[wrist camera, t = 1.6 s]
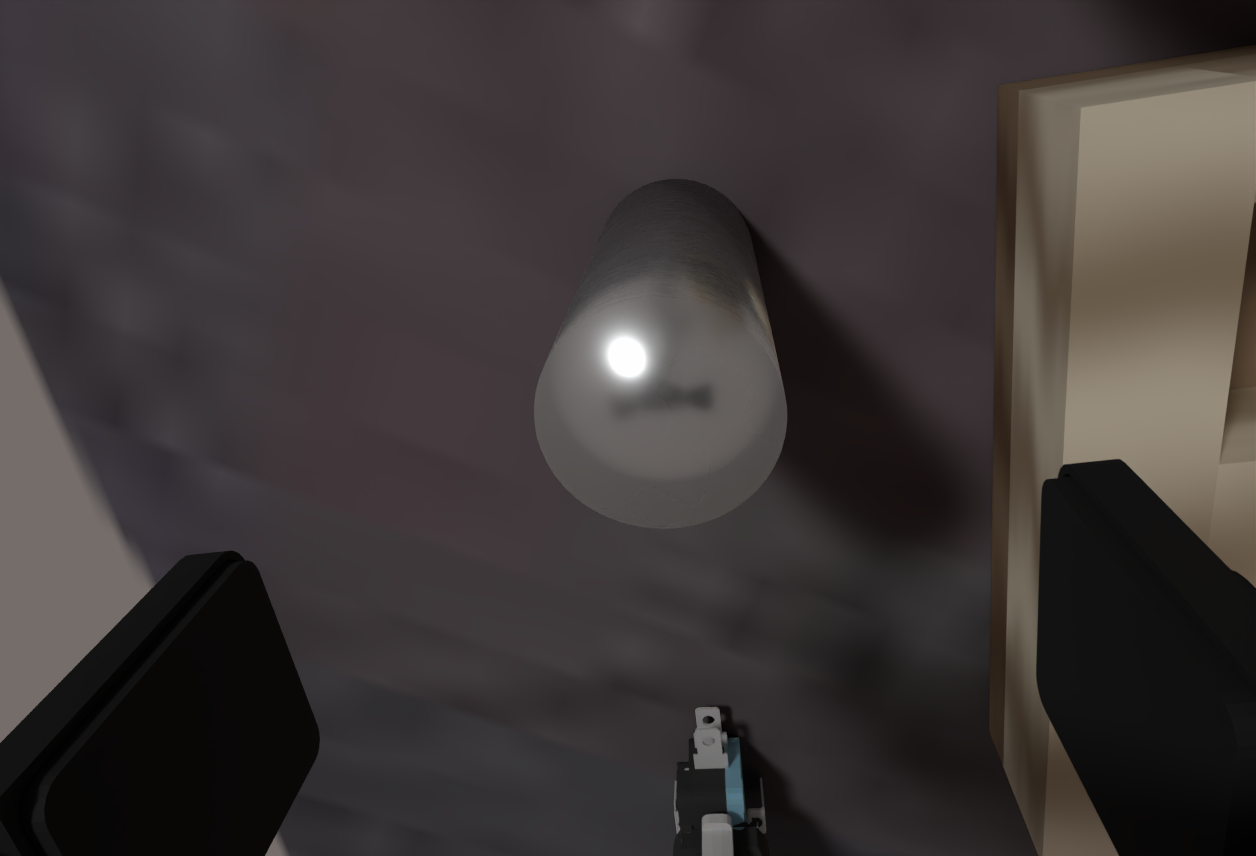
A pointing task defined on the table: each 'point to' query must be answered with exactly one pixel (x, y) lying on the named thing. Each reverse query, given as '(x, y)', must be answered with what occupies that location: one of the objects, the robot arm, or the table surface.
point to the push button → (715, 797)
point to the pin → (665, 366)
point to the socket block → (1116, 348)
